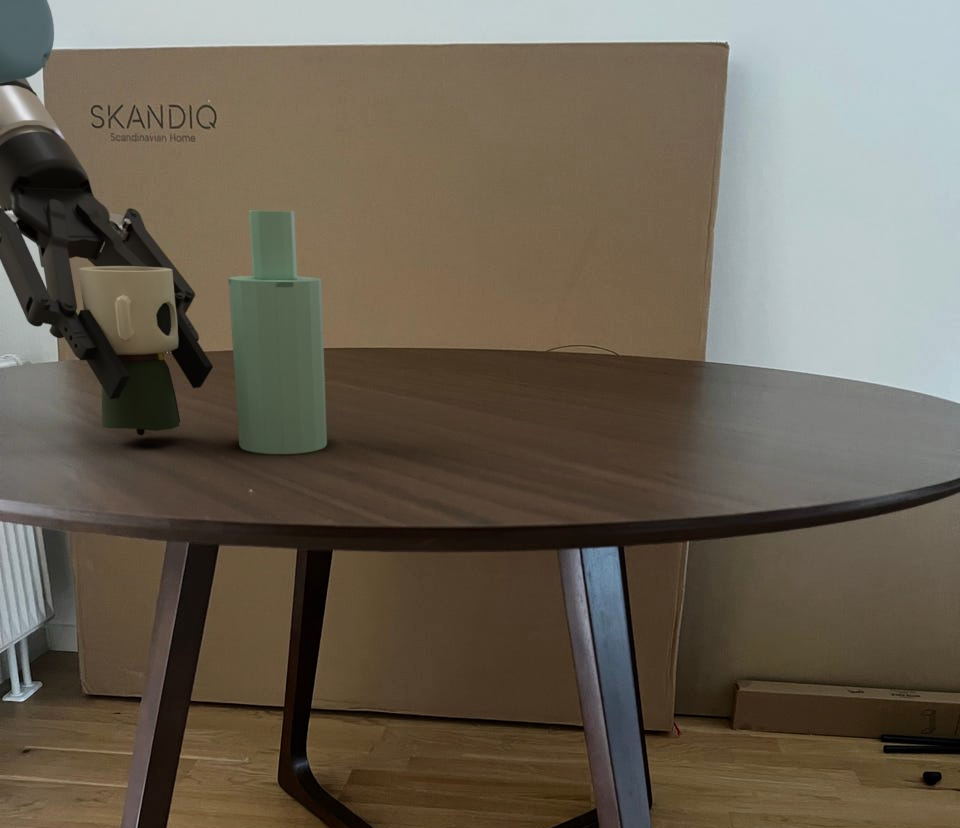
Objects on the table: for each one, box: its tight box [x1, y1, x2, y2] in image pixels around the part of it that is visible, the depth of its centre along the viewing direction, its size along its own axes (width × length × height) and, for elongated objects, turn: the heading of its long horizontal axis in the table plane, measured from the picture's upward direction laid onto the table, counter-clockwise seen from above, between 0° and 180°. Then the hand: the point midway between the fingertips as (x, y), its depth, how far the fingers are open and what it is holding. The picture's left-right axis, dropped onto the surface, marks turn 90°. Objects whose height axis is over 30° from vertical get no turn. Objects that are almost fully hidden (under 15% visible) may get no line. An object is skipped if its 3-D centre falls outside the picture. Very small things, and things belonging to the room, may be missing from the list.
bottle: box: [227, 209, 328, 455], centre depth 84 cm, size 7×7×19 cm
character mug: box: [78, 266, 181, 436], centre depth 84 cm, size 11×7×13 cm, turn 12°
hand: (162, 382), depth 83 cm, fingers closed on character mug, 7 cm apart
